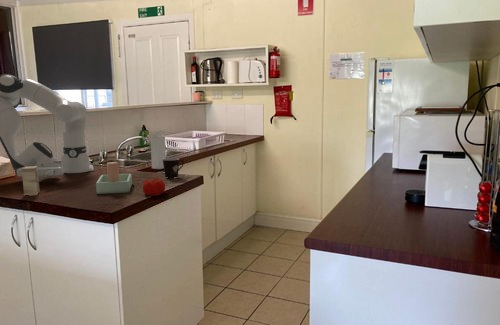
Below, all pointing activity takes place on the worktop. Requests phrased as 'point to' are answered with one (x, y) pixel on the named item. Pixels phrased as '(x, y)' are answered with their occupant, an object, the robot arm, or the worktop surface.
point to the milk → (158, 150)
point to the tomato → (153, 187)
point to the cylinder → (113, 171)
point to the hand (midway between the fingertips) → (36, 174)
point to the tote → (114, 184)
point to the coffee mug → (171, 167)
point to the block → (30, 180)
